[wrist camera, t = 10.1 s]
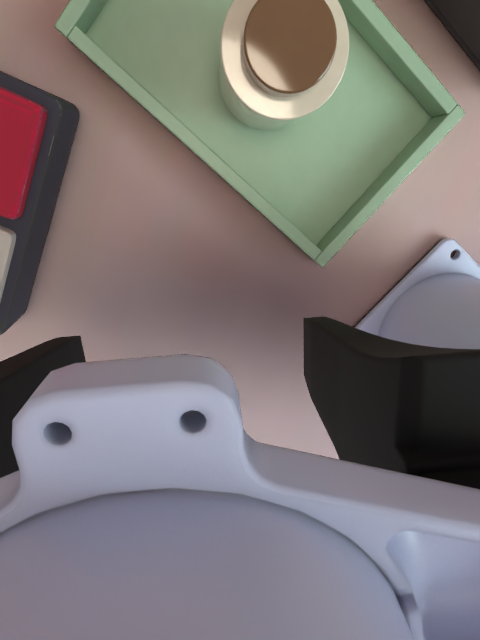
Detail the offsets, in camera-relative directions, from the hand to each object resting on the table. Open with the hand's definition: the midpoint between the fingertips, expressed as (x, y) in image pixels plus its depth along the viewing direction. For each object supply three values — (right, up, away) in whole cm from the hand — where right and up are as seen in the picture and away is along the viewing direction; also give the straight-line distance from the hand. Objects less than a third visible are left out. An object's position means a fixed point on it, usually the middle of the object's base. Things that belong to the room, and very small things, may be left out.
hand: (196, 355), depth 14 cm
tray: (+3, +12, +6) cm, 14 cm away
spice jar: (+3, +12, +6) cm, 14 cm away
